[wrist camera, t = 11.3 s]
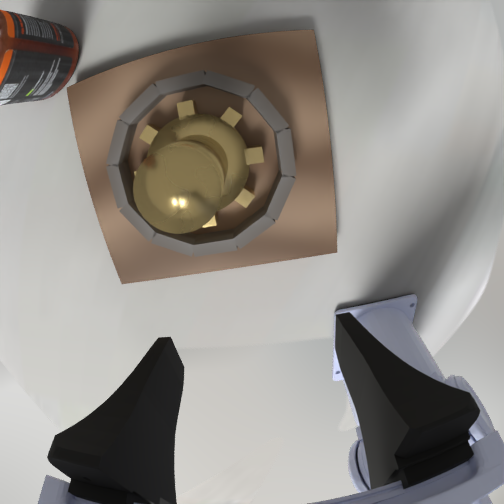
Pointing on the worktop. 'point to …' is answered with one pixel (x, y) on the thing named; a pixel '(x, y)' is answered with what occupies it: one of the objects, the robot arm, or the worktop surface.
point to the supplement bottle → (34, 58)
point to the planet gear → (193, 170)
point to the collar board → (249, 126)
